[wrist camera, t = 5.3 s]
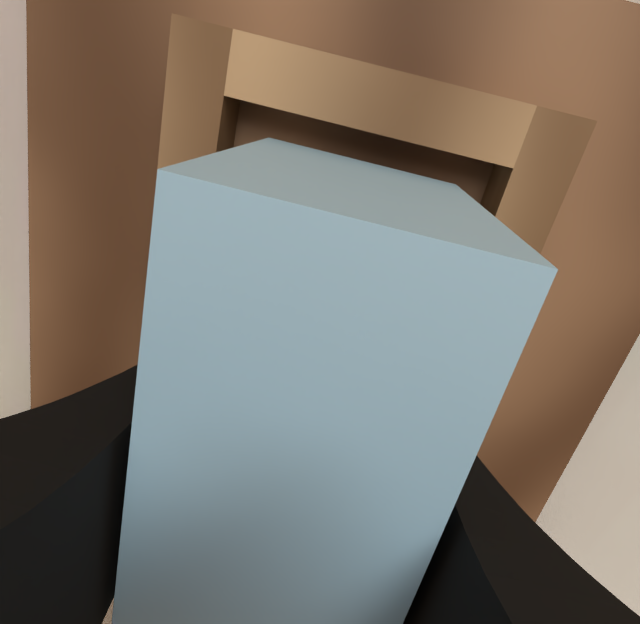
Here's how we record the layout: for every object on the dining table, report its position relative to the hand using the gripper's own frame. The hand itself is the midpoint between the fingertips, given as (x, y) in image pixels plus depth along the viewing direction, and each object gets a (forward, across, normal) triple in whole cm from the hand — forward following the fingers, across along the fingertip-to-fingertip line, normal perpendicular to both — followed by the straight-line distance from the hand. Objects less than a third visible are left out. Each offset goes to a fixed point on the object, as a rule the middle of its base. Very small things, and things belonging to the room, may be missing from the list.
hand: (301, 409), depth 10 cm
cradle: (+4, 0, 0) cm, 4 cm away
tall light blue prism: (+2, 0, 0) cm, 2 cm away
